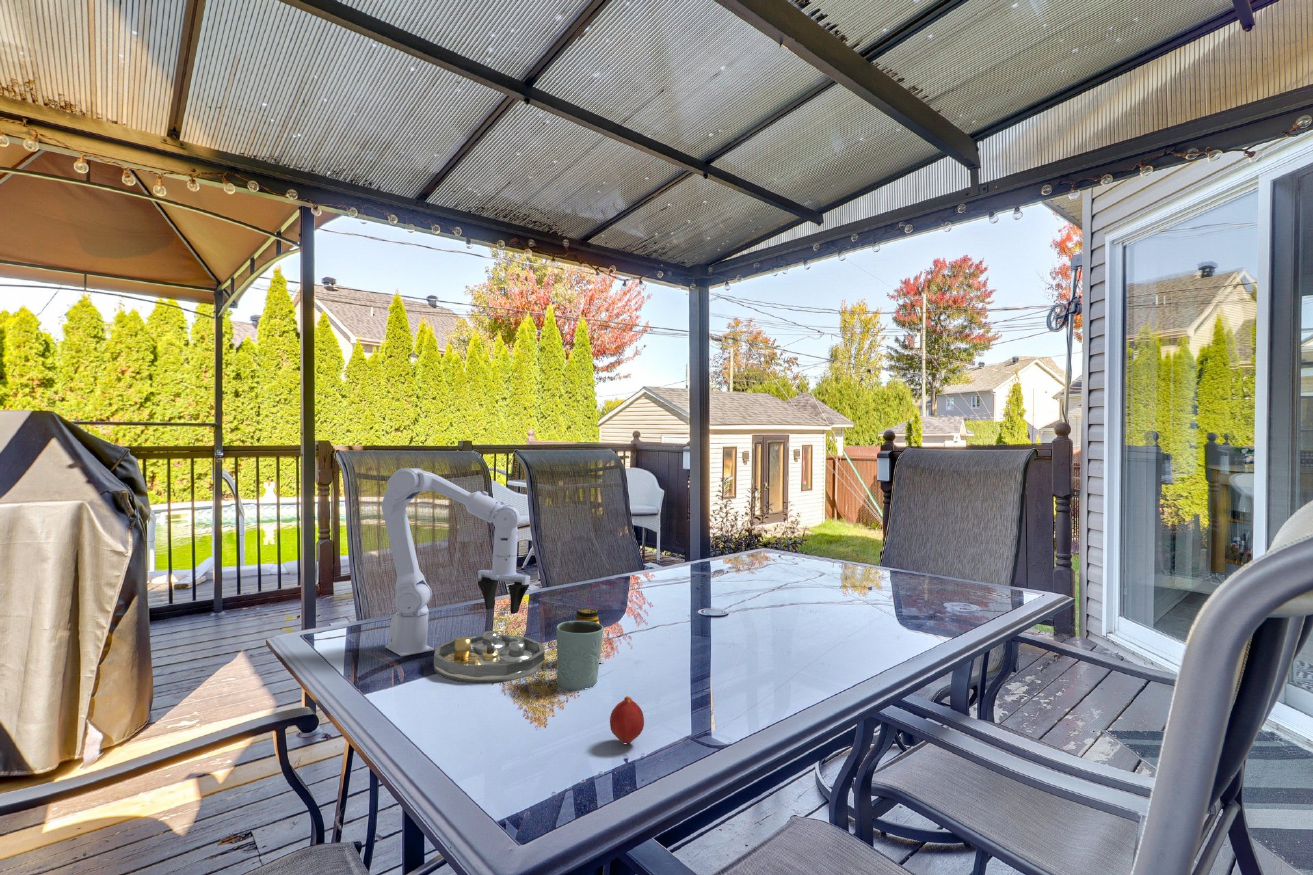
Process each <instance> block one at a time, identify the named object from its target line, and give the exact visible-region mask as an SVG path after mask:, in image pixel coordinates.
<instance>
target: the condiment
mask: <svg viewBox="0 0 1313 875" xmlns="http://www.w3.org/2000/svg"><path fill="white" fill-rule="evenodd" d="M575 621H590V622H595V623H599V624H600V621H599V611H598V610H597V609H595V608H586V607H585V608H580V609H577V611H576V616H575Z"/></svg>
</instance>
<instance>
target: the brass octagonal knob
mask: <svg viewBox="0 0 1313 875" xmlns="http://www.w3.org/2000/svg"><path fill="white" fill-rule="evenodd" d="M470 637H471V636H459V637H456V638H454V639H455V650H454V654H449V655H448V656H446V657H445V658H446V659H448V660H450V661H452V662H459V663H466V664H474V665H478V664H479V663H480V656H479V655H477V654H475V653H470V650H471V638H470Z"/></svg>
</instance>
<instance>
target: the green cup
mask: <svg viewBox="0 0 1313 875" xmlns="http://www.w3.org/2000/svg"><path fill="white" fill-rule="evenodd" d="M555 627H556V656H557V657H556V667H557V668H556V672H557V674H556V684H557V686H558V687H560V688H562V689H566V690H569V691H570V690H572V691H583V690H582V689H584V690H586V689H585V688H589V689H591V688H590V687H592V686H594V685H595V684H596V683H597V682H598V675H599V674H598V673H599V669H600V668H599V667H600V664H599V660H600V658H601V652H602V642H603V635H604V626H603V625H602V623H601V624H600V622H599V623H595V622H590V621H576V620H569V621H563V622H560V623H559V624H557V626H555ZM597 684H598V683H597ZM597 684H596V685H597ZM596 685H595V686H596ZM595 686H594V687H595ZM592 688H593V687H592Z"/></svg>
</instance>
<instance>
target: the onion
mask: <svg viewBox="0 0 1313 875" xmlns="http://www.w3.org/2000/svg"><path fill="white" fill-rule="evenodd" d="M609 726H610V731H611V733H612V734H613V735H614V736H615V737H616V738H617V739H618V740H620V742H621V743H622V742H623V743H629V744H630V743H632V742H633V741H634V740H635V739H637V738H638V737H639V736H640V735H641V733H642V732H643V730H644V726H645V716H644V712H643V710H642V708H641V707H640V706H639V704H637V702H635V701H634V700H633V699H632V697H631V696H630V695H626V696H625V697H624V698H623V700H622V701H620V702H619V703H617V704H616V706H614V708H613V709H612V711H611V713H610V716H609ZM623 743H622V744H623Z"/></svg>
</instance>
